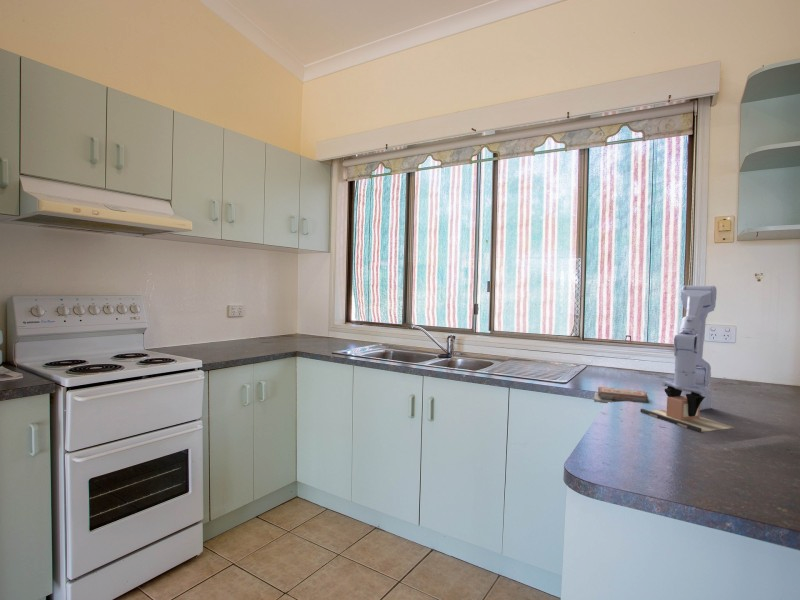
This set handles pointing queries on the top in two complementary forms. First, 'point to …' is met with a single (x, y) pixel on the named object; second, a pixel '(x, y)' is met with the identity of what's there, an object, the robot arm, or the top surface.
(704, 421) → the shelf board
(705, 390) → the robot arm
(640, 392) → the packaged product
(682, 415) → the carton
